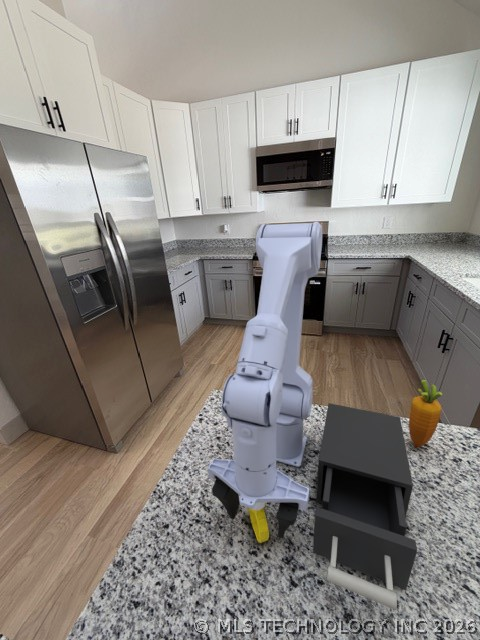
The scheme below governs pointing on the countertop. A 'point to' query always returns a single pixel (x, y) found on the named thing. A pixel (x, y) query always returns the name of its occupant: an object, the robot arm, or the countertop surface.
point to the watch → (259, 521)
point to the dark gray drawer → (364, 534)
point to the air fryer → (364, 448)
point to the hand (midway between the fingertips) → (257, 521)
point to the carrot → (424, 415)
